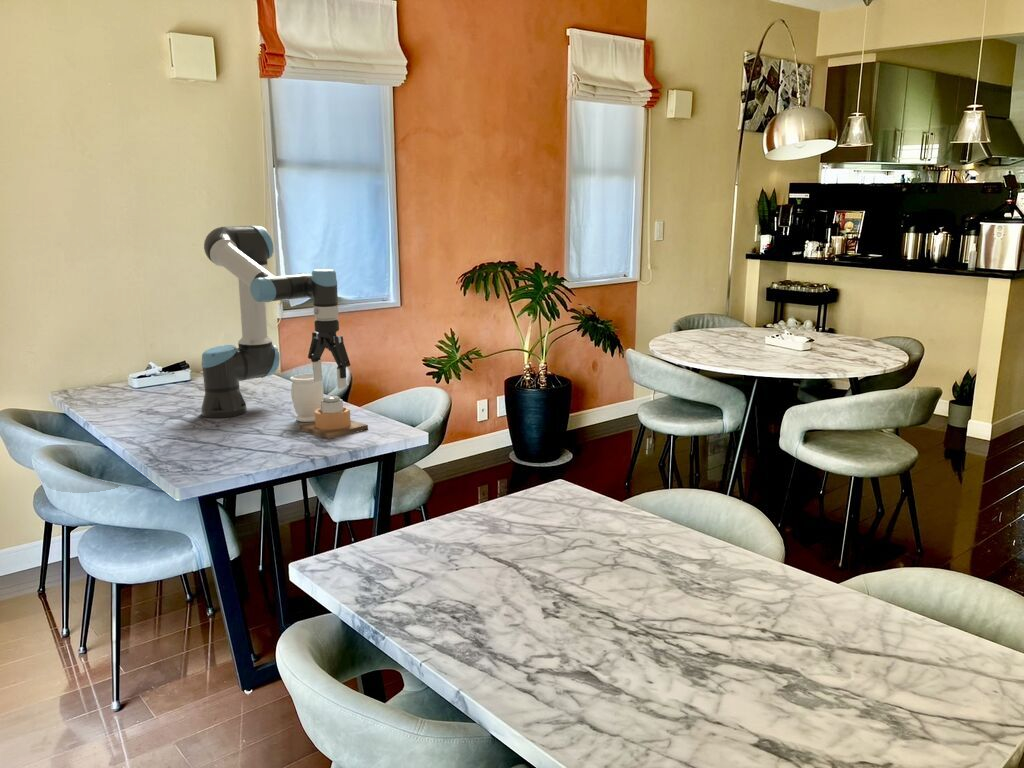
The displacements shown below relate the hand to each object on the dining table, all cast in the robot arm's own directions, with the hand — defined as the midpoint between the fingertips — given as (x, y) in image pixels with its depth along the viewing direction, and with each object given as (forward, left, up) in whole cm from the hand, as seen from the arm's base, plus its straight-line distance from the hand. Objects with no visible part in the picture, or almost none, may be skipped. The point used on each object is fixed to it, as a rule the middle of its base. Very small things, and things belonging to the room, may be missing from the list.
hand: (329, 384), depth 264 cm
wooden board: (0, 0, -15) cm, 15 cm away
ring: (0, 0, -13) cm, 13 cm away
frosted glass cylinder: (0, 0, -13) cm, 13 cm away
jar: (-17, +2, -15) cm, 23 cm away
